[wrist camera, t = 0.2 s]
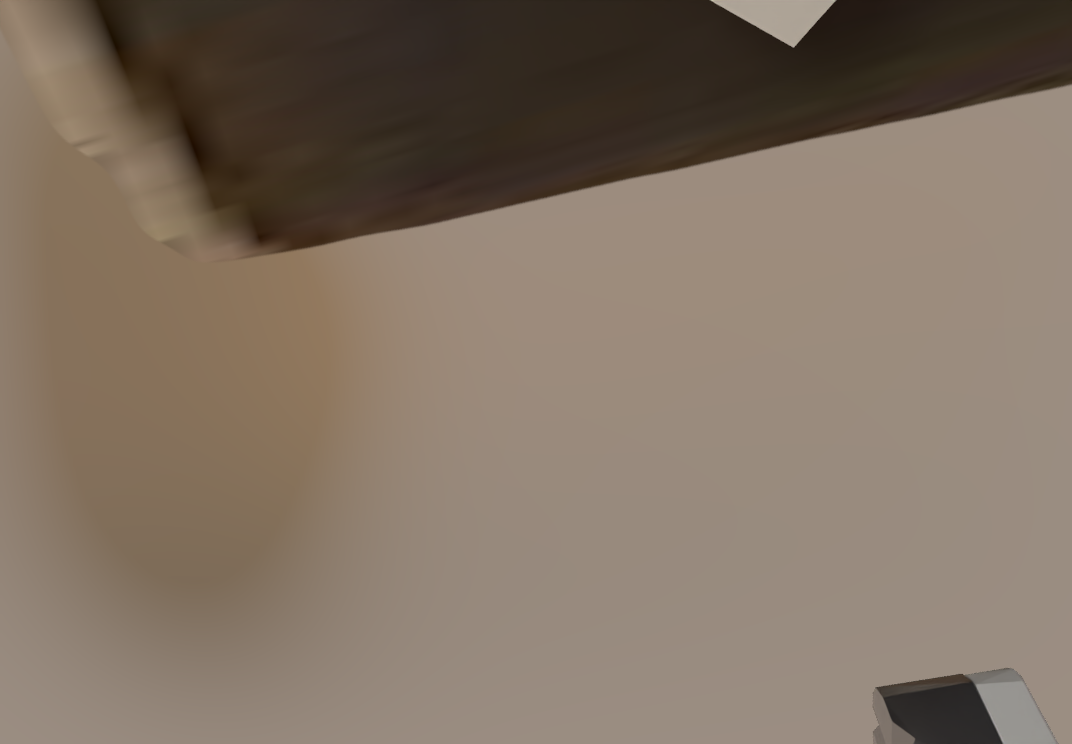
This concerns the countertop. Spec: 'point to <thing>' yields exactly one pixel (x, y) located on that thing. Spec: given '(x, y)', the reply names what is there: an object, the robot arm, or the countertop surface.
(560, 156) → the countertop surface
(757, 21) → the tower top
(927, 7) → the countertop surface
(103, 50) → the countertop surface
